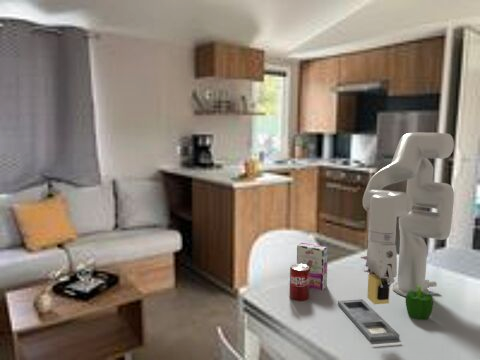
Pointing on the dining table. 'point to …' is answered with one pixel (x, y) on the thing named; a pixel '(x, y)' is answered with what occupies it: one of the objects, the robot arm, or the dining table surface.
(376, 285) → the yellow block
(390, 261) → the robot arm
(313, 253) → the candy bar box
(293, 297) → the soda can
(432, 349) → the dining table surface
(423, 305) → the bell pepper
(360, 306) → the gray recessed board
